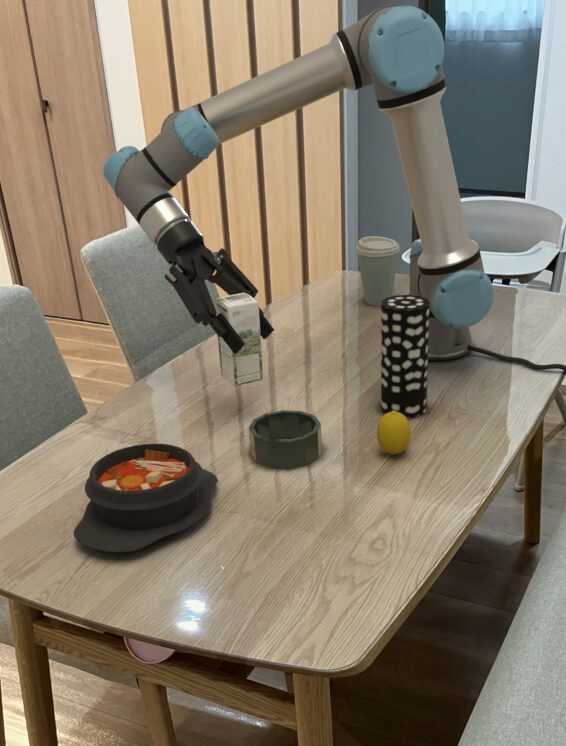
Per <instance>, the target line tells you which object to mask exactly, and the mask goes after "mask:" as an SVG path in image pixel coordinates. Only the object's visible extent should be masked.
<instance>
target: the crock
mask: <svg viewBox="0 0 566 746" xmlns="http://www.w3.org/2000/svg"><path fill="white" fill-rule="evenodd" d="M248 437H249V447H250V455H251V457H252V459H253V460H254V462H255V463H256V464H259V465H261V466H264V467H265V468H269V469H279V470H291V469H296V468H300V467H306V466H308V465H310V464H311V463H314V462H315V461H316V460H318V459H319V458H320V456H321V453H322V451H323V441H322V439H323V437H322V423H321V421H320V420H319V419H318V418H317V416H316V415H314V414H312V413H309V412H305V411H302V410H289V409H288V410H287V409H282V410H277V411H276V410H275V411H271V412H265V413H264V414H262V415H260V416H257V417H255V418H253V419H252V421H251V423H250V425H249V426H248Z"/></svg>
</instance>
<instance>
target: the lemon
mask: <svg viewBox="0 0 566 746" xmlns="http://www.w3.org/2000/svg"><path fill="white" fill-rule="evenodd" d="M408 419H409V418H406V417H405V416H404V415H403V414H401V413H399V412H396V411H392V412H389V413H387V414H384V415H382V416H381V418H380V419H379V421H378V424H377V428H376V439H377V443H378V445H379V446H380V448H381V449H382V450H383V451H384V452H386V453H388V454H390V455H392V456H395V455H397V454H398V453H401V452H403V451H404V450H406V448H407V447H408V446H409V444H410V441H411V434H412V430H411V425H410V422H409V420H408Z"/></svg>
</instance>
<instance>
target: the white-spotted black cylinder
mask: <svg viewBox="0 0 566 746" xmlns="http://www.w3.org/2000/svg"><path fill="white" fill-rule="evenodd" d="M429 313H430V301H429V300H428V299H426V298H424V297H421V296H415V295H410V294H396V295H392V296H391V297H388V298H385V299H383V300H382V302H381V306H380V338H381V339H380V410H381V412H382V413H383V414H384V415H385V414H387V413H389V412H392V411H396V412H399V413H401V414H403V415H404V416H405V417H406V418H407V419H414V418H417V417H420V416H422V415H423V414H424V413H426V411H427V399H428V371H429V370H428V369H429V360H428V343H429Z"/></svg>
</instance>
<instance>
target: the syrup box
mask: <svg viewBox="0 0 566 746" xmlns="http://www.w3.org/2000/svg"><path fill="white" fill-rule="evenodd" d="M213 301H214V302H213V303H214V307H215V310H216V312H217V314H216V316H217V315H218V314H220V313H222V314H223V315H224V317H225V318H226V319H227V321H228V322H229V323H230V325H231V326H232V327H233V329H234V330H235V331H236V333H237V334H238V335H239V337H240V338H241V339H242V341H243V342H244V343H245V345H244V346H243V347H242V348H241V349H240V350H239V352H238V353H236V354H234V353H233V352H232V350H231V349H230V348H229V346H228V345H227V344H226V342H225V341H224V340H223V338H222V337H221V338H220V337H219V336H218V335H217V344H218V355H219V364H220V376H221V377H222V378H223V379H225V380H226V381H227V382H229V383H230V385H233V386H234V387H238V386H241V385H242V386H243V385H247V384H250V383H254V382H258V381H263V380H264V372H263V371H264V370H263V355H262V354H263V353H262V340H261V339H262V336H261V335H260V319H259V307H260V305H259V302H258V300H257V299H256V298H255V297H254V298H253V297H251V296H250V295H248V294H246V293H240V294H235V295H229V294H228V295H225V296H221V297H220V296H219V297H215V298H214V299H213Z"/></svg>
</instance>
